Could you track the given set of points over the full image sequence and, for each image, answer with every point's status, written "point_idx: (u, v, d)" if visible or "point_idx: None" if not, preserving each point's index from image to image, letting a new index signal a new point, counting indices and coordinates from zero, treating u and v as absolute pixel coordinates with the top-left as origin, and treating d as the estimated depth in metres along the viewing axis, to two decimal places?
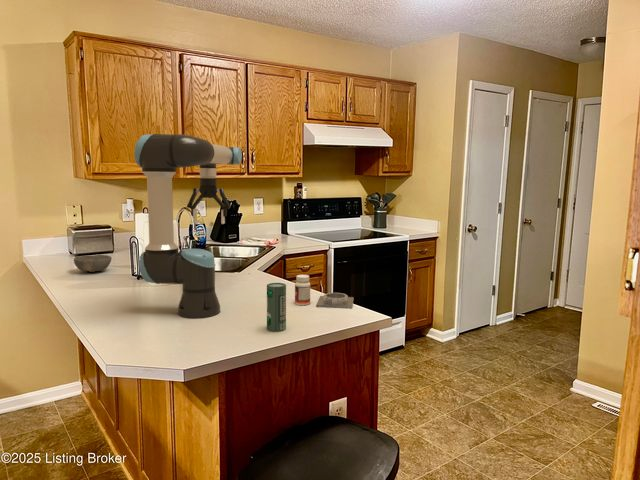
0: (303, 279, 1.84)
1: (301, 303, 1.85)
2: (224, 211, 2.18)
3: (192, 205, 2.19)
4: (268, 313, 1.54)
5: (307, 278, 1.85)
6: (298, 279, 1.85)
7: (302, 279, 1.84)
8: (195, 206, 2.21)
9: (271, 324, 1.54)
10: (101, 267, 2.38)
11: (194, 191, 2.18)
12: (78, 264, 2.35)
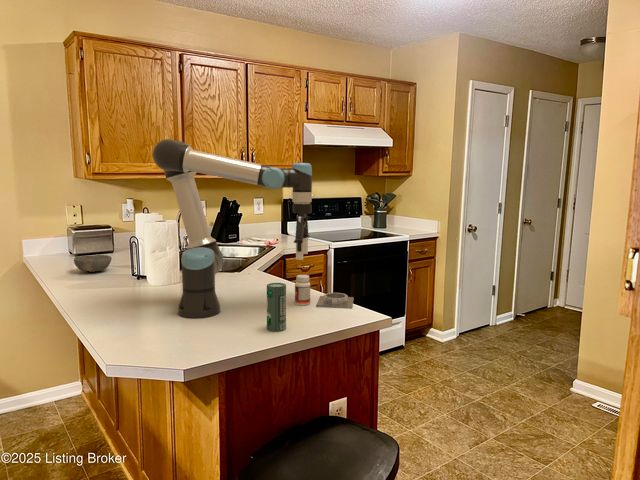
0: (303, 279, 1.84)
1: (301, 303, 1.85)
2: (297, 245, 1.78)
3: None
4: (268, 313, 1.54)
5: (307, 278, 1.85)
6: (298, 279, 1.85)
7: (302, 279, 1.84)
8: (306, 235, 1.91)
9: (271, 324, 1.54)
10: (101, 267, 2.38)
11: None
12: (78, 264, 2.35)
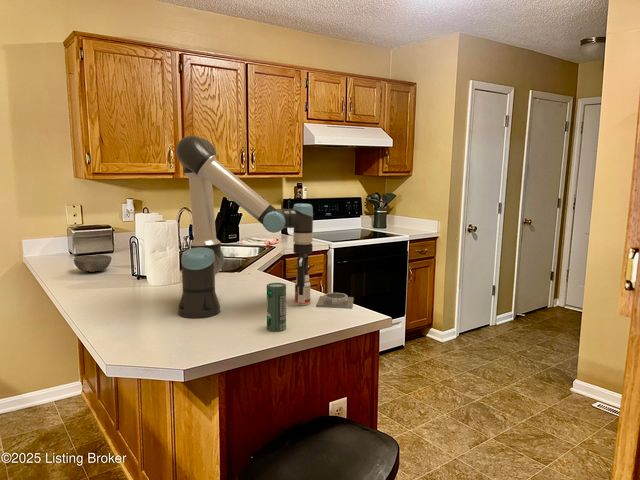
0: None
1: (301, 303, 1.85)
2: (299, 288, 1.83)
3: None
4: (268, 313, 1.54)
5: (307, 278, 1.85)
6: None
7: None
8: None
9: (271, 324, 1.54)
10: (101, 267, 2.38)
11: None
12: (78, 264, 2.35)
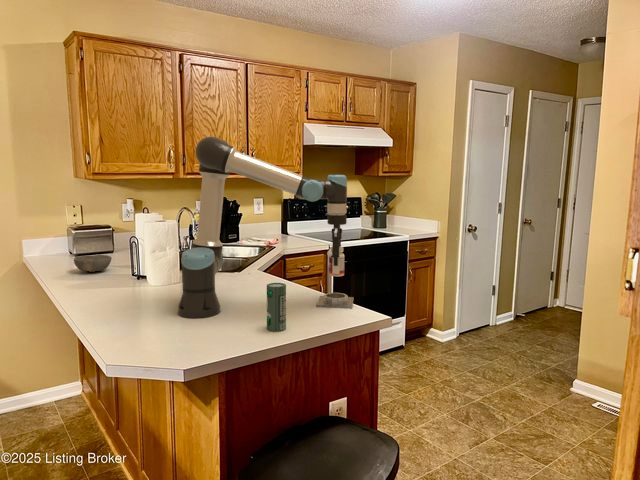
0: None
1: (335, 274, 1.85)
2: (334, 259, 1.83)
3: None
4: (268, 313, 1.54)
5: (341, 249, 1.85)
6: None
7: None
8: None
9: (271, 324, 1.54)
10: (101, 267, 2.38)
11: None
12: (78, 264, 2.35)
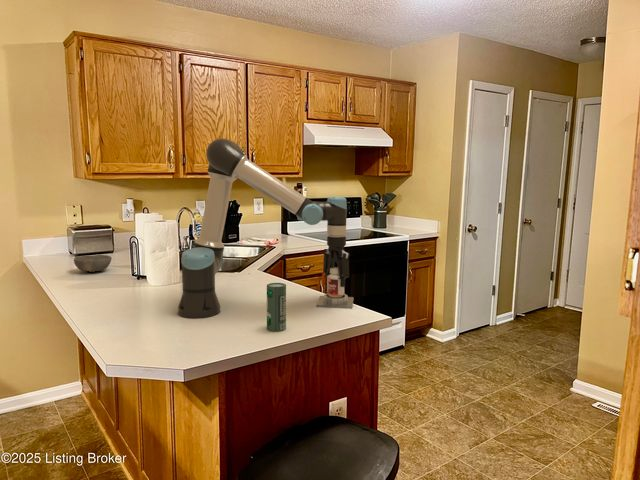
0: None
1: (340, 295, 1.87)
2: (341, 280, 1.84)
3: (326, 270, 1.91)
4: (268, 313, 1.54)
5: None
6: (336, 272, 1.85)
7: None
8: None
9: (271, 324, 1.54)
10: (101, 267, 2.38)
11: (324, 253, 1.91)
12: (78, 264, 2.35)
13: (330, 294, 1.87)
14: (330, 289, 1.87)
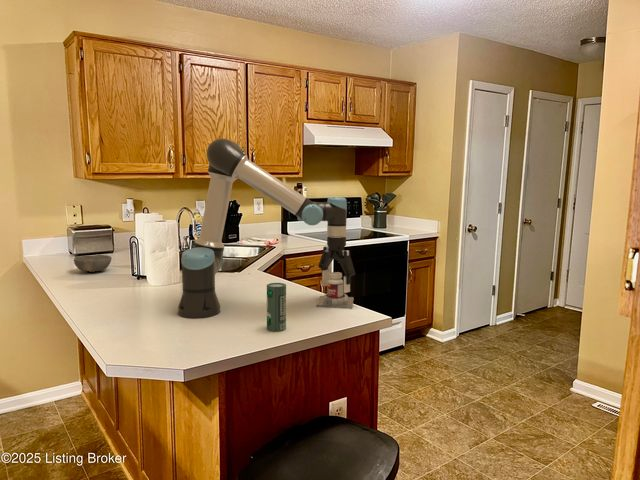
0: (340, 276, 1.87)
1: None
2: (347, 278, 1.82)
3: (322, 266, 1.93)
4: (268, 313, 1.54)
5: (341, 274, 1.88)
6: (336, 276, 1.86)
7: (339, 276, 1.86)
8: (327, 267, 1.93)
9: (271, 324, 1.54)
10: (101, 267, 2.38)
11: (324, 250, 1.91)
12: (78, 264, 2.35)
13: None
14: (330, 294, 1.87)
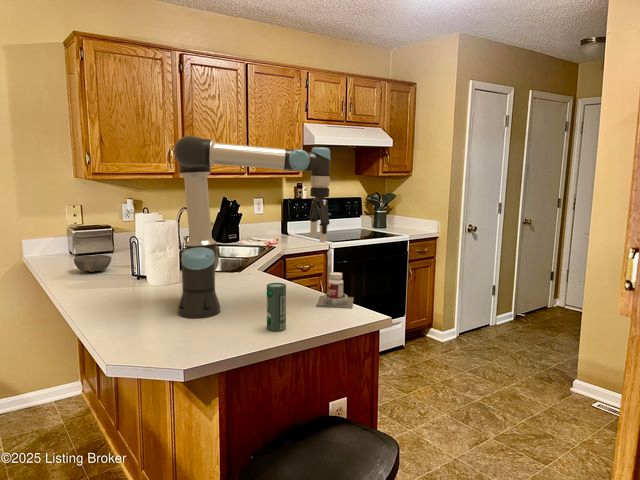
0: (341, 276, 1.87)
1: None
2: (322, 227, 1.82)
3: (311, 217, 1.96)
4: (268, 313, 1.54)
5: None
6: (336, 277, 1.86)
7: (340, 276, 1.86)
8: (315, 219, 1.96)
9: (271, 324, 1.54)
10: (101, 267, 2.38)
11: (312, 202, 1.94)
12: (78, 264, 2.35)
13: None
14: (330, 294, 1.87)
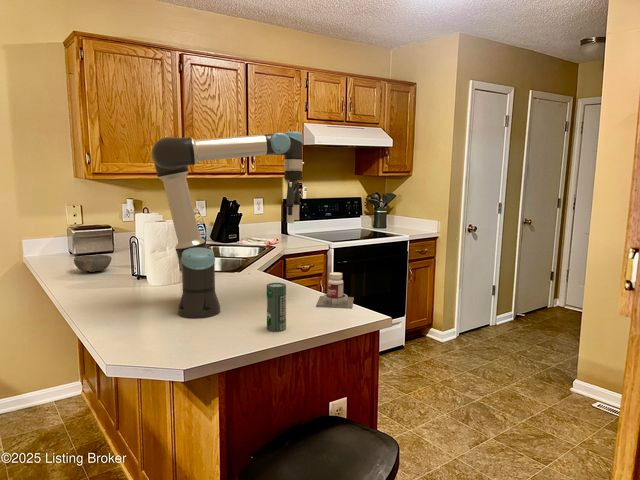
0: (341, 276, 1.87)
1: None
2: (288, 208, 1.88)
3: (293, 200, 2.03)
4: (268, 313, 1.54)
5: None
6: (336, 277, 1.86)
7: (340, 276, 1.86)
8: (297, 202, 2.02)
9: (271, 324, 1.54)
10: (101, 267, 2.38)
11: None
12: (78, 264, 2.35)
13: None
14: (330, 294, 1.87)
